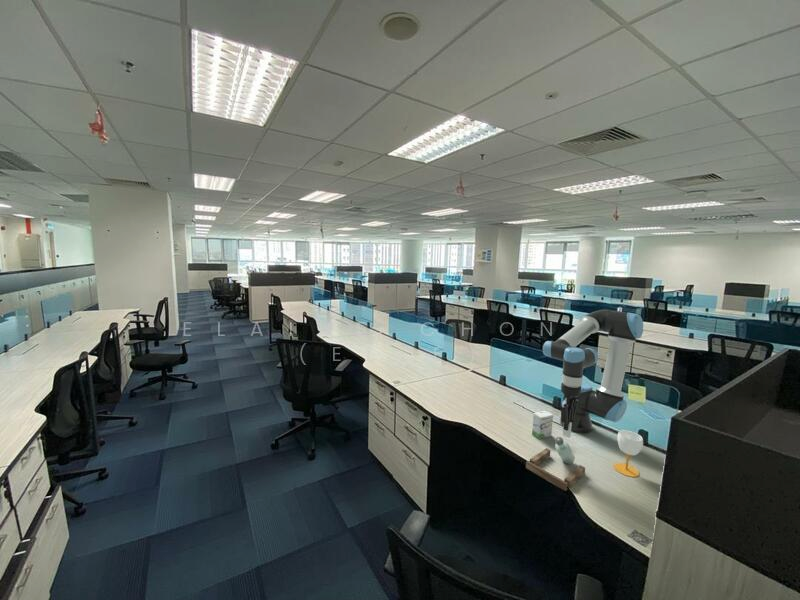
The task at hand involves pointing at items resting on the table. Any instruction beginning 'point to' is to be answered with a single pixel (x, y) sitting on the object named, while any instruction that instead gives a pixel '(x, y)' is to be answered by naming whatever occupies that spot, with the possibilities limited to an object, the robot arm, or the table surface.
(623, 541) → the table surface
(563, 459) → the bottle
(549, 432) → the ink box
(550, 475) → the u rest
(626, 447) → the cup
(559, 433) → the table surface
